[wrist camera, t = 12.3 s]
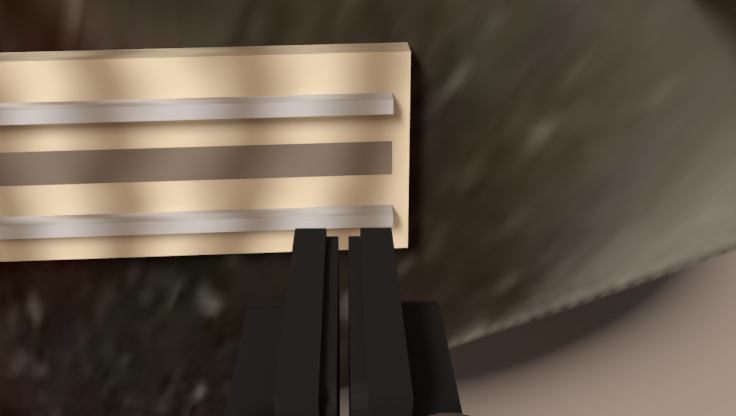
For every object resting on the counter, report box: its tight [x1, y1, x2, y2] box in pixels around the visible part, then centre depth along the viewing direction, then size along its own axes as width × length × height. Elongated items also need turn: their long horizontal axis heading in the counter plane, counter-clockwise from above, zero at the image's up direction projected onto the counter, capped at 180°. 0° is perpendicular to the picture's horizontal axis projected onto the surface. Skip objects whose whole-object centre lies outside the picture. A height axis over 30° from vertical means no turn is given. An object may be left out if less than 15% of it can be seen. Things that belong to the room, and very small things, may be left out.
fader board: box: [0, 42, 411, 262], centre depth 36 cm, size 34×12×3 cm, turn 91°
